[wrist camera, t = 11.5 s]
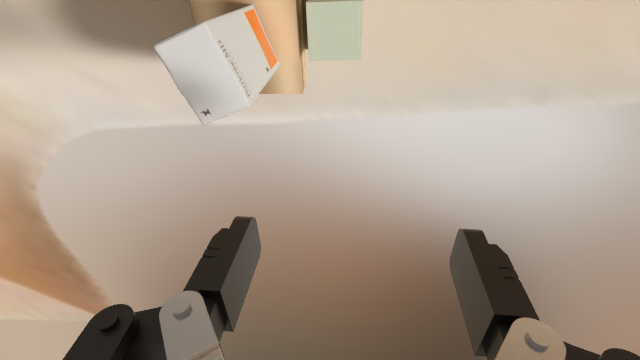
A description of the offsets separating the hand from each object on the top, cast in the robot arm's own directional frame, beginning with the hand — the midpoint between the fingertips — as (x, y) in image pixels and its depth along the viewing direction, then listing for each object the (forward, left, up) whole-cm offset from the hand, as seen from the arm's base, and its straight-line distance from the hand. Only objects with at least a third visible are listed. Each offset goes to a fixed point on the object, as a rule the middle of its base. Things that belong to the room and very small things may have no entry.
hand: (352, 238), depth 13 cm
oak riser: (+10, -3, -27) cm, 29 cm away
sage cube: (+2, -4, -28) cm, 28 cm away
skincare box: (+10, -3, -24) cm, 26 cm away
